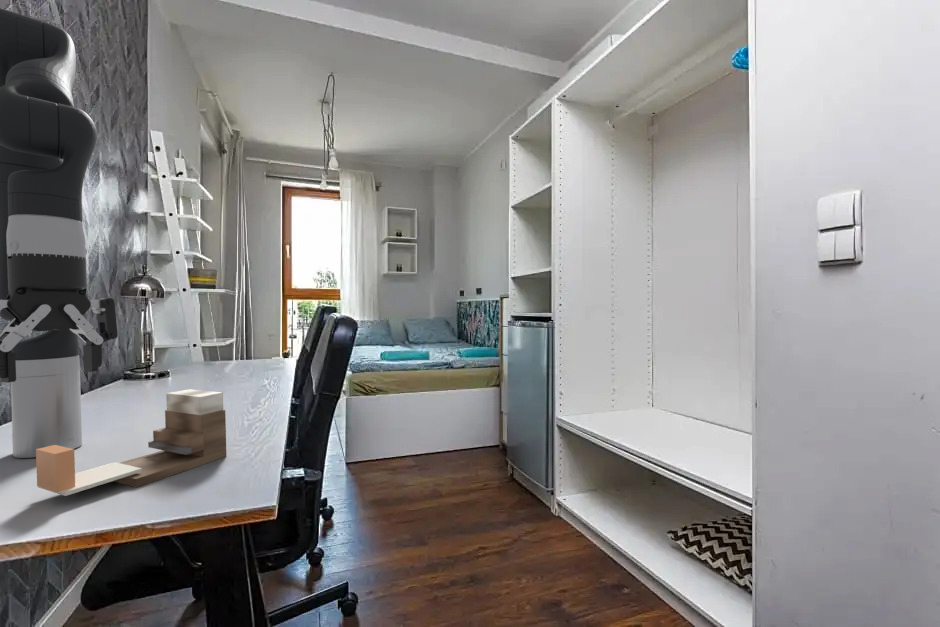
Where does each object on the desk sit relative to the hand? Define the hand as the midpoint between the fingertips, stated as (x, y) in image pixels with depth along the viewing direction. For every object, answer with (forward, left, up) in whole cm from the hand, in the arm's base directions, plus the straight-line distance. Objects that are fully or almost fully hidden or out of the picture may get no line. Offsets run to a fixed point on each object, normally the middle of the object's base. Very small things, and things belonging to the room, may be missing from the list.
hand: (52, 376), depth 58 cm
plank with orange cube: (0, +4, -15) cm, 16 cm away
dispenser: (0, +15, -17) cm, 22 cm away
